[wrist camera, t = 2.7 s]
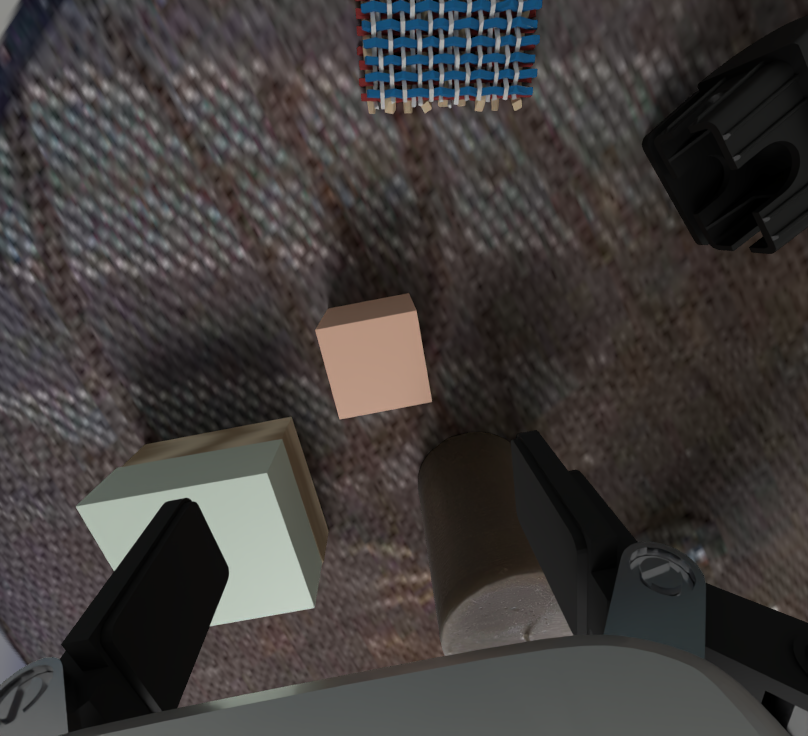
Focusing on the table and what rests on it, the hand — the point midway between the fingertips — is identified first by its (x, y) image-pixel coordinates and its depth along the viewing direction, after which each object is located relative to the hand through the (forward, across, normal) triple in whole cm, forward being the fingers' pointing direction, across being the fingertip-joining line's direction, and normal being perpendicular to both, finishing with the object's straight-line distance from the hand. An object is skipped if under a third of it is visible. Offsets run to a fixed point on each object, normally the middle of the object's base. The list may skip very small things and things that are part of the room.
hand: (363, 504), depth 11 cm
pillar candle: (+18, -6, +15) cm, 25 cm away
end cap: (+19, -25, -7) cm, 32 cm away
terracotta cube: (+19, 0, +1) cm, 19 cm away
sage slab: (+15, +14, +12) cm, 23 cm away
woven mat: (+20, -8, -18) cm, 28 cm away
